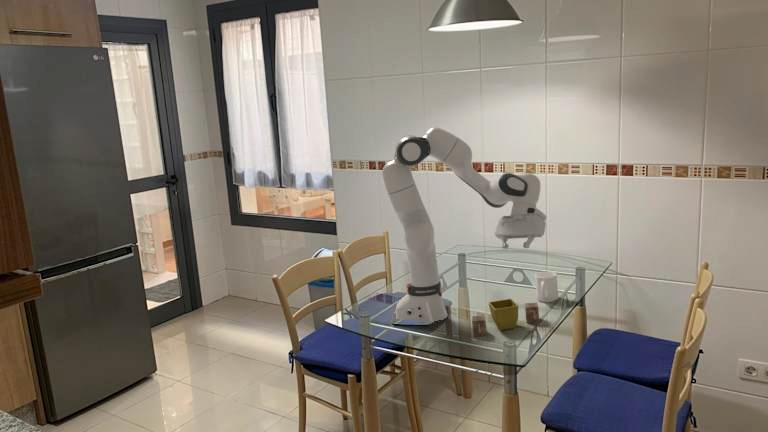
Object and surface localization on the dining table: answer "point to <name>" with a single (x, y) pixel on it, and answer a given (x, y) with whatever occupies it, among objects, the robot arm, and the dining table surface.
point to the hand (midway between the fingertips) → (515, 248)
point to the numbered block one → (479, 326)
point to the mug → (546, 286)
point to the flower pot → (504, 313)
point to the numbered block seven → (532, 312)
